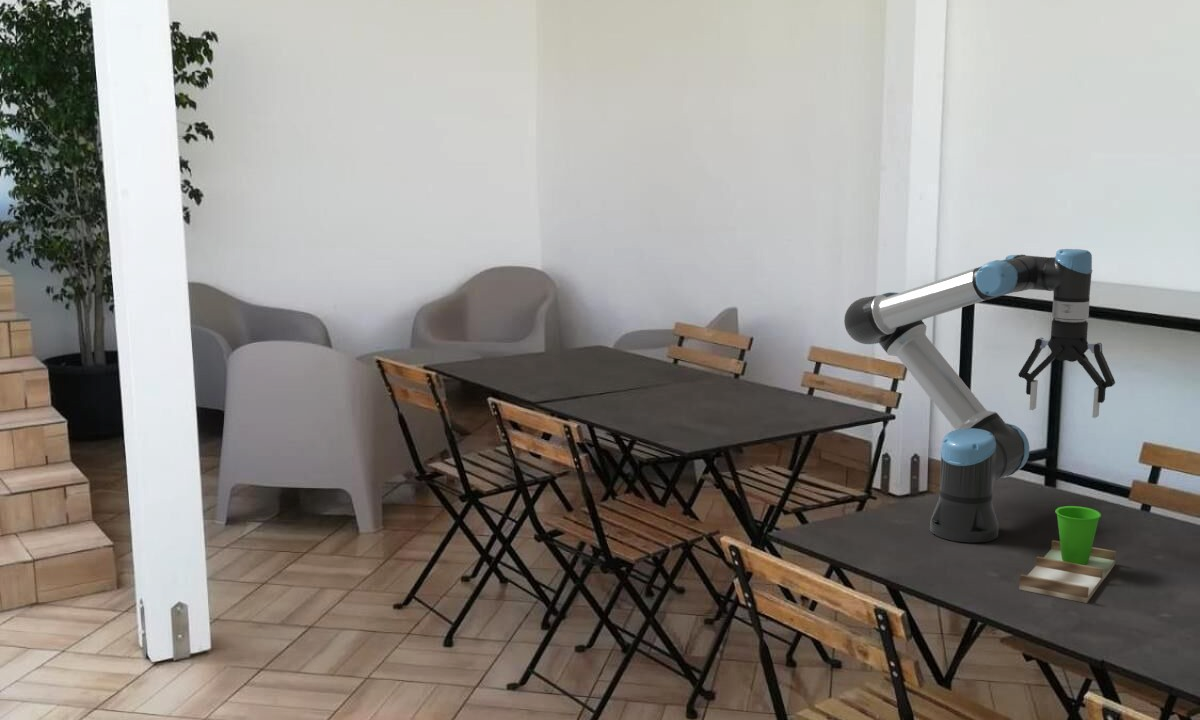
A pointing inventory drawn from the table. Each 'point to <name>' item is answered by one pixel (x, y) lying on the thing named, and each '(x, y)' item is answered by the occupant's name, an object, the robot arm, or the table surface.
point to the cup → (1076, 532)
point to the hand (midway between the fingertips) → (1063, 412)
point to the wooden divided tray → (1068, 574)
